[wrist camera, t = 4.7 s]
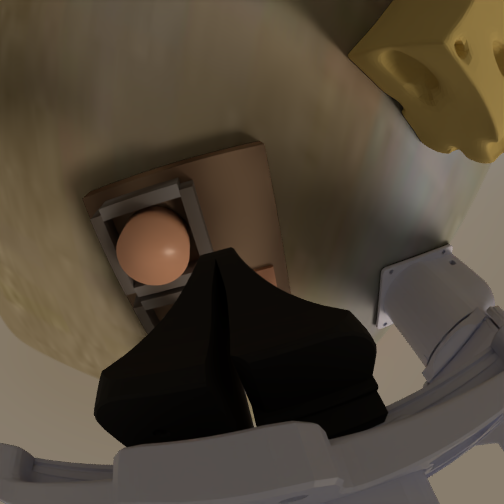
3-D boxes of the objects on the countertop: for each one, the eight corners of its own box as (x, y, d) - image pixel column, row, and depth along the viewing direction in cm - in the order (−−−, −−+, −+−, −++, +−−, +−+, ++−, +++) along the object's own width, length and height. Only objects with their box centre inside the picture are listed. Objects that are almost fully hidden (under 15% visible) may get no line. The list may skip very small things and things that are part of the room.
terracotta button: (178, 197, 17) (176, 209, 15) (198, 258, 19) (198, 275, 18) (113, 218, 17) (104, 231, 15) (138, 275, 19) (133, 292, 17)
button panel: (259, 140, 18) (270, 147, 16) (297, 359, 29) (306, 381, 27) (89, 191, 18) (74, 206, 15) (188, 386, 29) (190, 409, 26)
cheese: (422, 147, 20) (516, 186, 12) (335, 52, 16) (436, 33, 7) (469, 73, 17) (555, 88, 9) (398, -18, 13) (488, -42, 4)
